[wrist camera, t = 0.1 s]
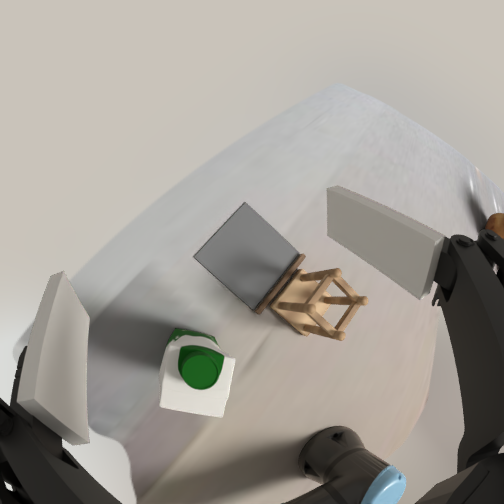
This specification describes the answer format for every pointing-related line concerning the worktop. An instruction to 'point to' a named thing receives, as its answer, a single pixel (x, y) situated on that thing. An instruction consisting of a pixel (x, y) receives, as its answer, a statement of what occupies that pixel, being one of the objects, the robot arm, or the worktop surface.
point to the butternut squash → (496, 224)
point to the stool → (316, 303)
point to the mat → (247, 255)
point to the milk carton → (195, 374)
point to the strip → (280, 284)
